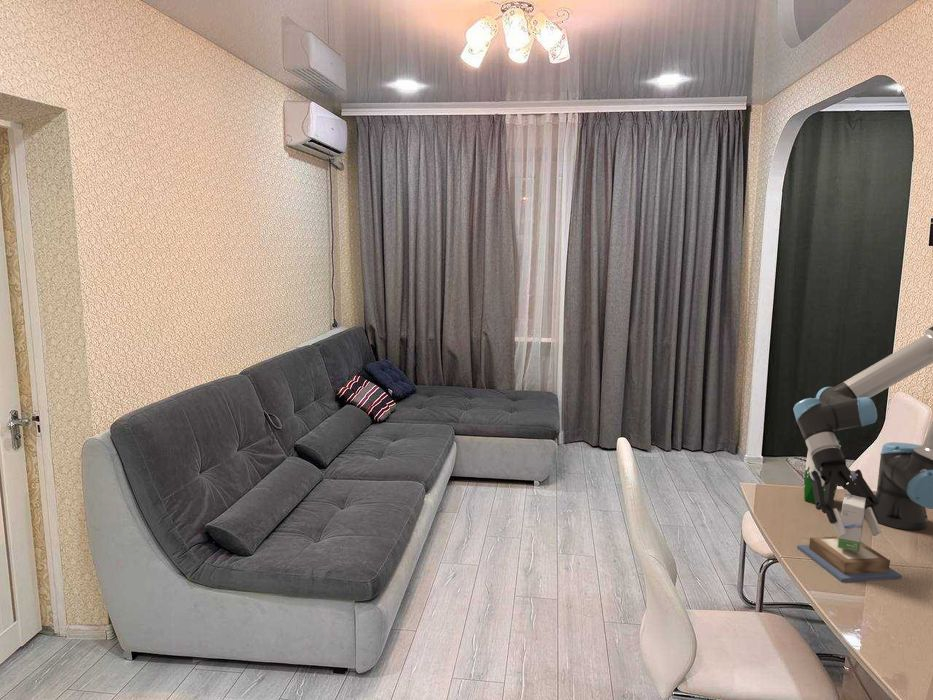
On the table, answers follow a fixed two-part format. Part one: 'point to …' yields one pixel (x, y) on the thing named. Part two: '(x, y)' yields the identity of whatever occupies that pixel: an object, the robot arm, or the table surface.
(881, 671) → the table surface
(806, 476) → the milk carton
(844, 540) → the ink box
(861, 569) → the walnut plinth
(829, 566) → the board
